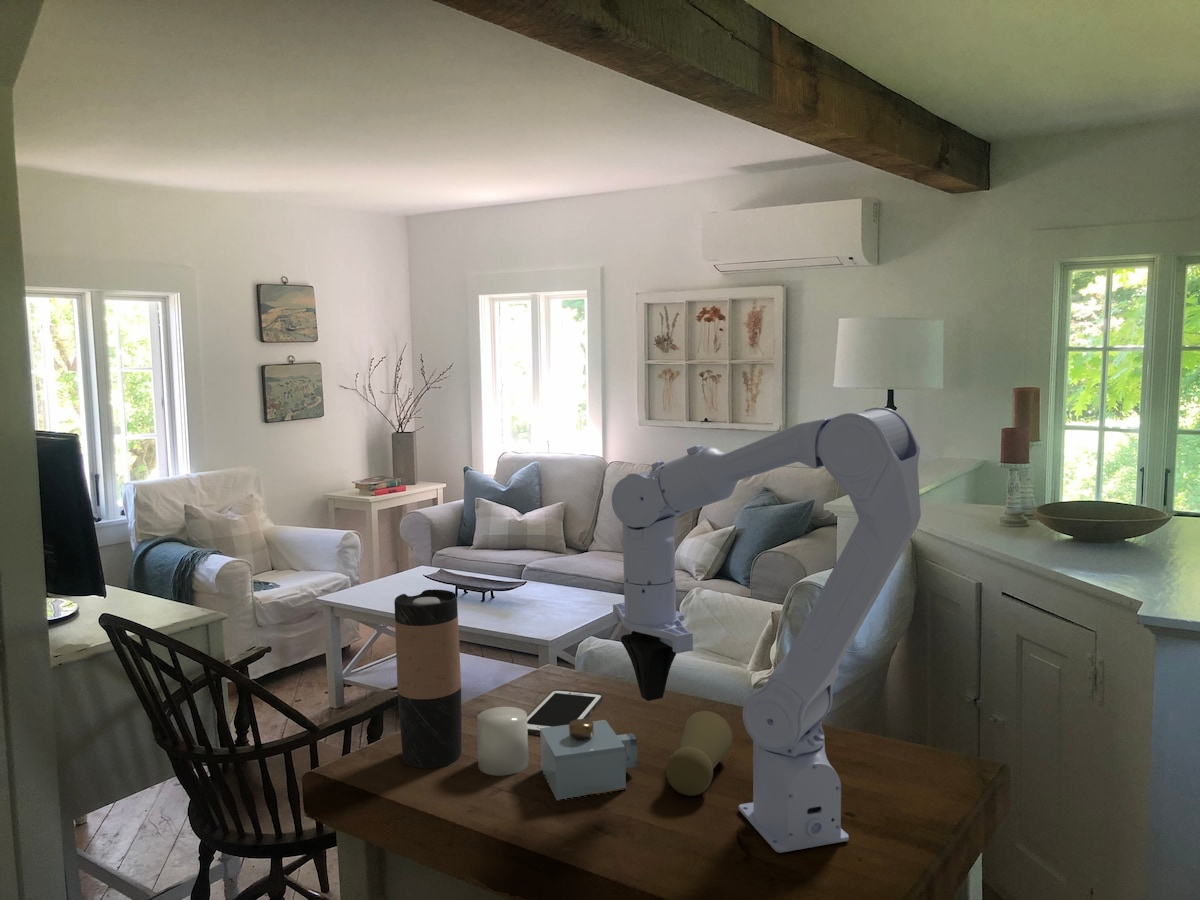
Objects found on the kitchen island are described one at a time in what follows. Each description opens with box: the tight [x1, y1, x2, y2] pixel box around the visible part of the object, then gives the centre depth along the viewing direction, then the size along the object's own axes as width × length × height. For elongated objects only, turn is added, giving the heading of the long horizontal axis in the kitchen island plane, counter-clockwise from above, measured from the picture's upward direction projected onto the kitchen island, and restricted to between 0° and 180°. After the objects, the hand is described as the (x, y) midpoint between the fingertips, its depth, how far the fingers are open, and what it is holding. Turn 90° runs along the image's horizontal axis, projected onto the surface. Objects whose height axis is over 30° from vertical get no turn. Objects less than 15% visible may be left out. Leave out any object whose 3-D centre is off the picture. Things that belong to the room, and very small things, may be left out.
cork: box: [665, 710, 733, 797], centre depth 107 cm, size 6×6×11 cm
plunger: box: [569, 718, 594, 740], centre depth 107 cm, size 3×3×6 cm
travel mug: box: [393, 589, 462, 769], centre depth 113 cm, size 8×8×20 cm
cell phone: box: [527, 688, 604, 736], centre depth 127 cm, size 8×15×1 cm, turn 162°
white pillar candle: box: [476, 706, 529, 777], centre depth 112 cm, size 6×6×6 cm
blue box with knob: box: [539, 719, 638, 802], centre depth 107 cm, size 8×10×5 cm
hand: (652, 697), depth 104 cm, fingers closed
